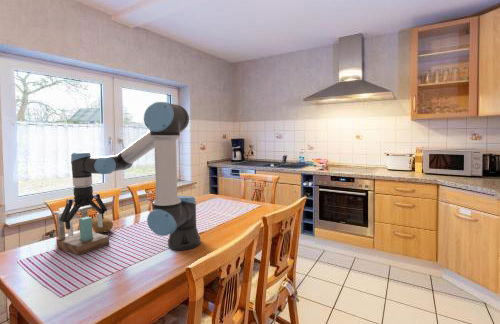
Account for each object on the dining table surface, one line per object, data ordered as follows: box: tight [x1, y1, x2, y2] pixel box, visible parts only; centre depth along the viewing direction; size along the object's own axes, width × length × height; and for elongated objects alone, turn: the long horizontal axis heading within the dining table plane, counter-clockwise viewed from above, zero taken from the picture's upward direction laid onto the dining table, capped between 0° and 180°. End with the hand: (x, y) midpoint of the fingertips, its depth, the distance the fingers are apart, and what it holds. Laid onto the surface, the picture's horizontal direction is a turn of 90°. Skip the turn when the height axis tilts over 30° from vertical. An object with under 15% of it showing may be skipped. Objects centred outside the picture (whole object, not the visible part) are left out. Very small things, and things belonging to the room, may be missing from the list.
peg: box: [78, 216, 93, 242], centre depth 127 cm, size 4×4×14 cm
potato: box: [91, 216, 114, 234], centre depth 148 cm, size 10×14×8 cm
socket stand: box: [52, 205, 110, 256], centre depth 129 cm, size 18×15×17 cm
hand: (86, 231), depth 127 cm, fingers open, 13 cm apart
